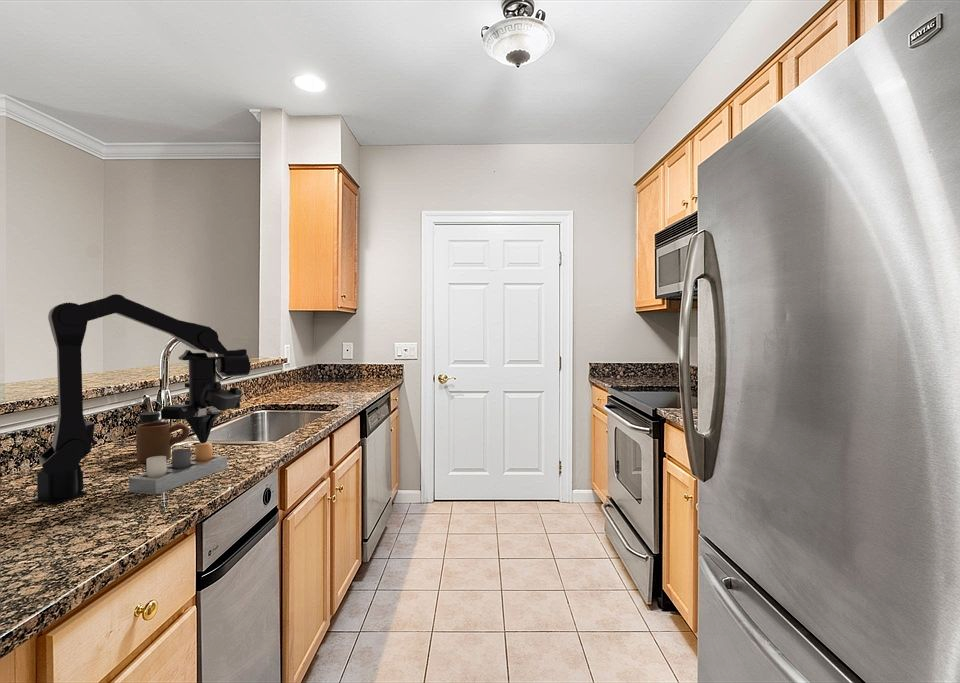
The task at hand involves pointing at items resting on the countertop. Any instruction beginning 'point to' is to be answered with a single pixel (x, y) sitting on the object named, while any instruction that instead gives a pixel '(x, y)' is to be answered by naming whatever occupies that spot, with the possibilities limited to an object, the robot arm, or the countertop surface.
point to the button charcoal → (181, 459)
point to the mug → (157, 439)
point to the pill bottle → (149, 417)
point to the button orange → (203, 452)
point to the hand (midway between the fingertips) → (203, 442)
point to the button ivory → (156, 466)
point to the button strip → (176, 476)
